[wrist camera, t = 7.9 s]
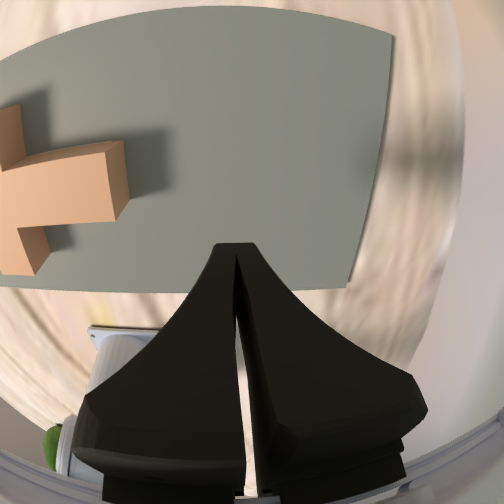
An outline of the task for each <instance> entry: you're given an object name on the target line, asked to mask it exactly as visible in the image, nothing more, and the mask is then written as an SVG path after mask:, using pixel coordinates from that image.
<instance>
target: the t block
mask: <svg viewBox="0 0 504 504" xmlns="http://www.w3.org/2000/svg"><path fill="white" fill-rule="evenodd" d="M129 201H130V195H129V188H128V180H127V172H126V163H125V153H124V142H123V140H119V141H111V142H103V143H96V144H90V145H83V146H78V147H72V148H66V149H61V150H56V151H51V152H47V153H42V154H38V155H33V156H29V157H26V151H25V144H24V137H23V128H22V119H21V106H20V104H17V105H14V106H10V107H7V108H4V109H1V110H0V270H1V272H2V275H25V276H35V275H36V274H37V272H38V271H39V269H40V268H41V266H42V265H43V264H44V262H45V261H46V259H47V258H48V257H49V255H50V254H51V250H50V247H49V244H48V241H47V238H46V235H45V232H44V229H43V226H46V225H61V224H76V223H93V222H113V221H116V220H117V218H118V217H119V215H120V214H121V212H122V211H123V209H124V208H125V207H126V205H127V204H128V202H129Z"/></svg>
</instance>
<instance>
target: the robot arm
mask: <svg viewBox="0 0 504 504" xmlns="http://www.w3.org/2000/svg"><path fill="white" fill-rule="evenodd" d="M236 315H237V321H238V327H239V332H240V338H241V344H242V349H243V355H244V360H245V365H246V371H247V378H248V389H249V400H250V412H251V424H252V436H253V448H254V460H255V472H256V484H257V494H258V498H250V499H235V496H244V486H245V478H246V453H245V442H244V431H243V423H242V414H241V404H240V395H239V385H238V374H237V363H236V351H235V338H236ZM87 332H88V334H89V336H90V338H91V340H92V342H93V344H94V346H95V347H96V349H97V351H98V352H97V356H96V359H95V362H94V366H93V369H92V373H91V377H90V380H89V384H88V388H87V392H86V395H85V397H84V400H83V403H82V405H81V408H80V410H79V413H78V416H76V415H74V414H71V415H70V416H68V417H66V418H65V420H64V422H63V426H62V429H61V433H60V438H59V443H58V449H57V457H56V470H57V472H53V471H51V470H48V469H45V468H43V467H40V466H38V465H35V464H33V463H31V462H28V461H26V460H24V459H22V458H19V457H17V456H15V455H13V454H11V453H9V452H7V451H5V450H3V449H1V448H0V504H349V503H353V502H356V501H359V500H363V499H365V498H369V497H371V496H375V495H377V494H380V493H383V492H386V491H388V490H391V489H393V488H396V487H398V486H401V485H402V486H401V487H400V488H399V489H398V492H397V494H396V495H395V496H392V497H390V498H386V499H384V500H381V501H378V502H375V503H372V504H497V503H498V502H499V500H500V499H501V498H502V497H503V496H504V407H503V408H501V409H500V410H499V411H498V412H497V414H495V415H494V416H492V417H491V418H489V419H488V420H486V421H485V422H483V423H482V424H480V425H479V426H477V427H475V428H474V429H472V430H470V431H469V432H467V433H465V434H463V435H462V436H460V437H458V438H456V439H455V440H453V441H451V442H449V443H447V444H445V445H443V446H441V447H439V448H437V449H435V450H433V451H431V452H429V453H427V454H425V455H423V456H420V457H418V458H416V459H414V460H411V461H409V462H406V463H404V464H403V462H402V459H401V456H400V453H401V452H403V451H404V446H403V443H402V440H401V438H402V437H403V436H405V435H406V434H407V433H408V432H410V431H411V430H412V429H413V428H415V427H416V425H418V424H419V423H420V422H421V421H422V420H423V419H424V418H425V416H426V414H427V412H428V408H427V405H426V403H425V401H424V398H423V396H422V393H421V391H420V389H419V387H418V385H417V383H416V381H415V379H414V378H413V376H412V375H411V374H409V373H407V372H405V371H403V370H401V369H399V368H397V367H395V366H393V365H391V364H389V363H387V362H385V361H383V360H381V359H379V358H377V357H375V356H373V355H372V354H370V353H368V352H367V351H365V350H363V349H362V348H360V347H358V346H357V345H355V344H354V343H352V342H351V341H349V340H348V339H346V338H345V337H343V336H342V335H341V334H339V333H338V332H336V331H335V330H334V329H332V328H331V327H330V326H328V325H327V324H326V323H324V322H323V321H322V320H321V319H319V318H318V317H317V316H316V315H315V314H314V313H313V312H312V311H310V310H309V309H308V308H307V307H306V306H305V305H304V304H303V303H302V302H301V301H300V300H299V299H298V298H297V297H296V296H295V295H294V294H293V293H292V292H291V291H290V289H289V288H288V287H287V286H286V285H285V284H284V283H283V282H282V280H281V279H280V278H279V277H278V275H277V274H276V273H275V272H274V270H273V269H272V268H271V266H270V265H269V264H268V262H267V261H266V260H265V258H264V257H263V255H262V254H261V252H260V251H259V249H258V247H257V246H256V245H255V244H254V243H253V242H245V243H216V244H215V245H214V246H213V249H212V252H211V254H210V257H209V259H208V261H207V263H206V265H205V267H204V269H203V271H202V272H201V274H200V276H199V278H198V280H197V281H196V283H195V285H194V286H193V288H192V289H191V291H190V292H189V294H188V295H187V297H186V298H185V300H184V301H183V303H182V304H181V305H180V307H179V308H178V309H177V311H176V312H175V313H174V314H173V316H172V317H171V318H170V319H169V321H168V322H167V323H166V324H165V325H164V326H163V328H162V329H161V330H160V331H157V330H133V329H115V328H100V327H88V330H87Z"/></svg>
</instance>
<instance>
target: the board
mask: <svg viewBox="0 0 504 504" xmlns="http://www.w3.org/2000/svg"><path fill="white" fill-rule="evenodd" d="M391 42H392V34H389V33H386V32H383V31H380V30H377V29H374V28H370V27H367V26H364V25H360V24H356V23H353V22H349V21H345V20H341V19H336V18H332V17H327V16H322V15H317V14H311V13H305V12H299V11H292V10H284V9H275V8H264V7H248V6H200V7H184V8H173V9H164V10H157V11H150V12H143V13H137V14H132V15H127V16H122V17H117V18H113V19H109V20H105V21H101V22H97V23H93V24H90V25H86V26H83V27H80V28H77V29H74V30H71V31H68V32H65V33H62V34H59V35H56V36H54V37H51V38H49V39H46V40H44V41H41V42H39V43H36V44H34V45H32V46H30V47H27V48H25V49H23V50H21V51H19V52H17V53H15V54H13V55H11V56H9V57H7V58H5V59H3V60H1V61H0V110H1V109H4V108H7V107H10V106H14V105H17V104H20V106H21V119H22V128H23V137H24V144H25V151H26V157H29V156H33V155H38V154H42V153H47V152H51V151H56V150H61V149H66V148H72V147H78V146H83V145H90V144H96V143H103V142H111V141H119V140H123V142H124V153H125V163H126V172H127V180H128V188H129V195H130V201H129V202H128V204H127V205H126V207H125V208H124V209H123V211H122V212H121V214H120V215H119V217H118V218H117V220H116V221H113V222H93V223H76V224H61V225H46V226H43V229H44V232H45V235H46V238H47V241H48V244H49V247H50V250H51V254H50V255H49V257H48V258H47V259H46V261H45V262H44V264H43V265H42V266H41V268H40V269H39V271H38V272H37V274H36V275H35V276H25V275H2V272H1V270H0V286H2V287H15V288H29V289H46V290H65V291H89V292H123V293H189V292H190V291H191V289H192V288H193V286H194V285H195V283H196V281H197V280H198V278H199V276H200V274H201V272H202V271H203V269H204V267H205V265H206V263H207V261H208V259H209V257H210V254H211V252H212V249H213V246H214V245H215V244H216V243H245V242H253V243H254V244H255V245H256V246H257V247H258V249H259V251H260V252H261V254H262V255H263V257H264V258H265V260H266V261H267V262H268V264H269V265H270V266H271V268H272V269H273V270H274V272H275V273H276V274H277V275H278V277H279V278H280V279H281V280H282V282H283V283H284V284H285V285H286V286H287V287H288V288H289V289H290V291H295V290H316V289H334V288H346V285H347V282H348V278H349V275H350V272H351V268H352V265H353V262H354V258H355V255H356V251H357V247H358V244H359V240H360V236H361V232H362V228H363V224H364V220H365V216H366V212H367V208H368V204H369V199H370V195H371V190H372V185H373V181H374V176H375V171H376V165H377V160H378V155H379V149H380V143H381V137H382V131H383V124H384V117H385V109H386V101H387V93H388V83H389V72H390V59H391Z"/></svg>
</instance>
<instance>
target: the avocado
mask: <svg viewBox="0 0 504 504" xmlns="http://www.w3.org/2000/svg"><path fill="white" fill-rule="evenodd" d="M61 429H62V427H60V426H54V427H51V428H50V429H48V430H47V432H46V434H45V435H44V439H43V447H44V453H45V458H46V462H47V465H48V466H49V468H50V469H51V470H53V471H55V472H57V470H56V457H57V449H58V443H59V438H60V433H61Z"/></svg>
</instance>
